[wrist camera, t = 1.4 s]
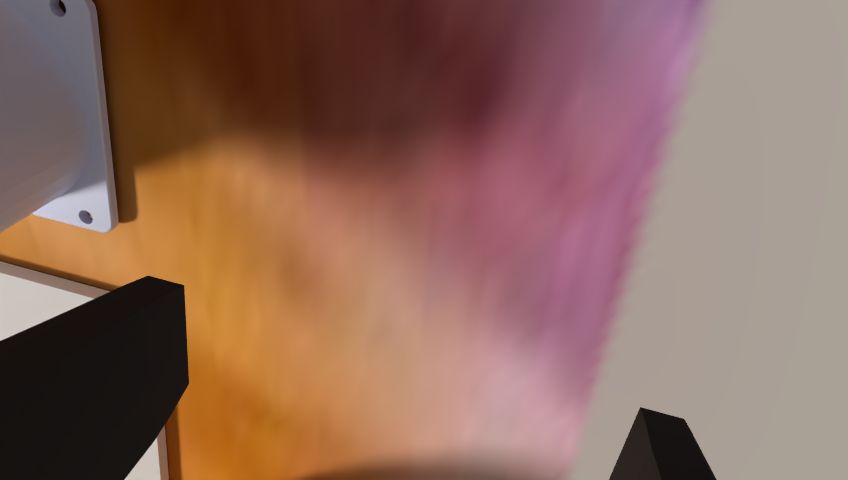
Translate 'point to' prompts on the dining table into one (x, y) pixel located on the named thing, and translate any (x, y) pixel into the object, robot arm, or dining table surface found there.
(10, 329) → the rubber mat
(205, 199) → the dining table surface
